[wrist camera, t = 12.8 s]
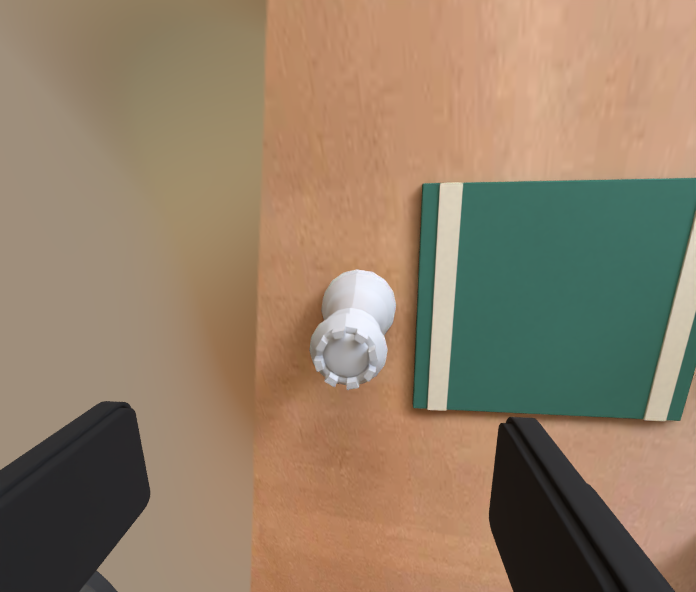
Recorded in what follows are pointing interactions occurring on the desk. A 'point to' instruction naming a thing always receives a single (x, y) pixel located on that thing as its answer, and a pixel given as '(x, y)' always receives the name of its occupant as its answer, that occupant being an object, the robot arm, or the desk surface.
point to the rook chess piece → (353, 329)
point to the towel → (557, 297)
